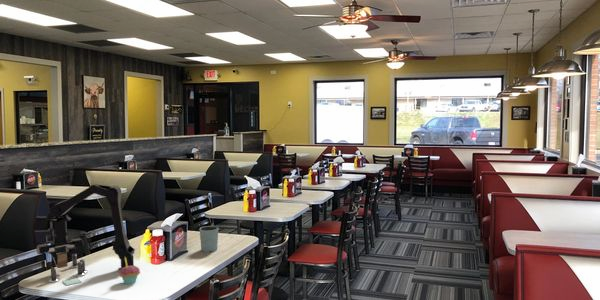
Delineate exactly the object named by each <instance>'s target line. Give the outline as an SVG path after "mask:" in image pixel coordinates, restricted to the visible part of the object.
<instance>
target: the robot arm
mask: <svg viewBox="0 0 600 300" xmlns="http://www.w3.org/2000/svg"><path fill="white" fill-rule="evenodd" d="M92 195H98V196H100V197H105V198H106V202H107V203H108V205H109V207H110V212H111V218H112V219H111V220H112V222H113V223H112V225H113V231H114V236H115V237H114V239H112V241H111V245H112V251H113V252H114V253H115V254H116V255H117V256H118V258H119V260H120V267H118V270H119V271H120V270H121V269H122V268H124V267H125V266H126V263H125V258H126V260H127V265H128V266H132V265H134V261H135V260H134V254H135V251H136V250H135V248H134V247H133V246H131V244H130V241H129V239H128V237H127V235H126V233H125V226H124V220H123V213H122V207H121V203H122V202H121V201H122V188H121V187H119V186H118V185H112V186H109V185H103V184H98V183H93V184H91V185H90V186H88V187H87V188H86V189H83V190H82V191H81V192H79V193H77V194H76V195H74V196H72V197H71V198H68V199H65V200H62V201H60V202H58V203H56V204H54V205H52V206H51V207H50V210H49V213H48V215H47V216H36V217H35V219H34V223H33V231H34V232H37V233H38V232H50V230H52V234H46V235H45V240H46V243H42V244H37V246H36V252H37V253H39V254H45V253H47V254H50V255H51V257H52V260H53V261H54V264H55V266H56V265H57V255H56V253H57V251H56V250H55V249H59V248H64V247H65V248H64V249H65V253H67V263H68V262H69V259H70V258H71V256H72V253H73V251H74V250H76V247H77V248H79V247H84V246H85V242H84V240H83V239H82V238H80V237H78V238H71V240H70V241H68V228H67V227H68V226H67V225H68V223H67V222H70V220H72V218H71V217H70V216H69V215H68V214H67V212H69V211H70V210H71V209H72V208H73V207H74V206H76V205H77V204H79V203H80V202H82V201H83V200H86V199H87V198H89V197H90V196H92ZM65 214H66V215H65ZM63 215H64V216H63ZM48 243H50V244H48ZM134 266H135V265H134Z"/></svg>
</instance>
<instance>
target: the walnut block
mask: <svg viewBox="0 0 600 300" xmlns="http://www.w3.org/2000/svg"><path fill="white" fill-rule="evenodd" d="M56 255H57V265H56V264H55V267H56V269H57V268H58V269H61V268H66V267H68V265H69V264H68V262H67V253H66V251H62V252H58V253H57V252H56Z"/></svg>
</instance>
